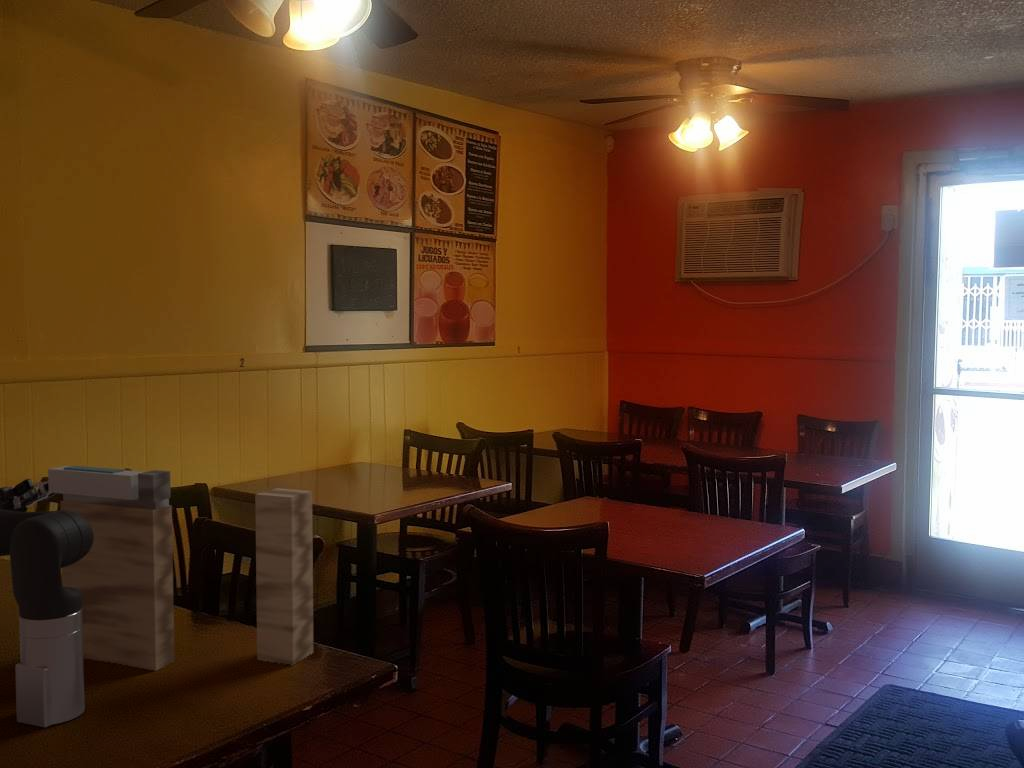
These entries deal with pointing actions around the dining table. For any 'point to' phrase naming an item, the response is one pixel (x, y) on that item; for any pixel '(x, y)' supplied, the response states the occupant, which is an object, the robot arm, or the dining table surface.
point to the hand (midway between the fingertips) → (49, 479)
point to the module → (94, 482)
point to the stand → (284, 575)
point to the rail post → (127, 575)
